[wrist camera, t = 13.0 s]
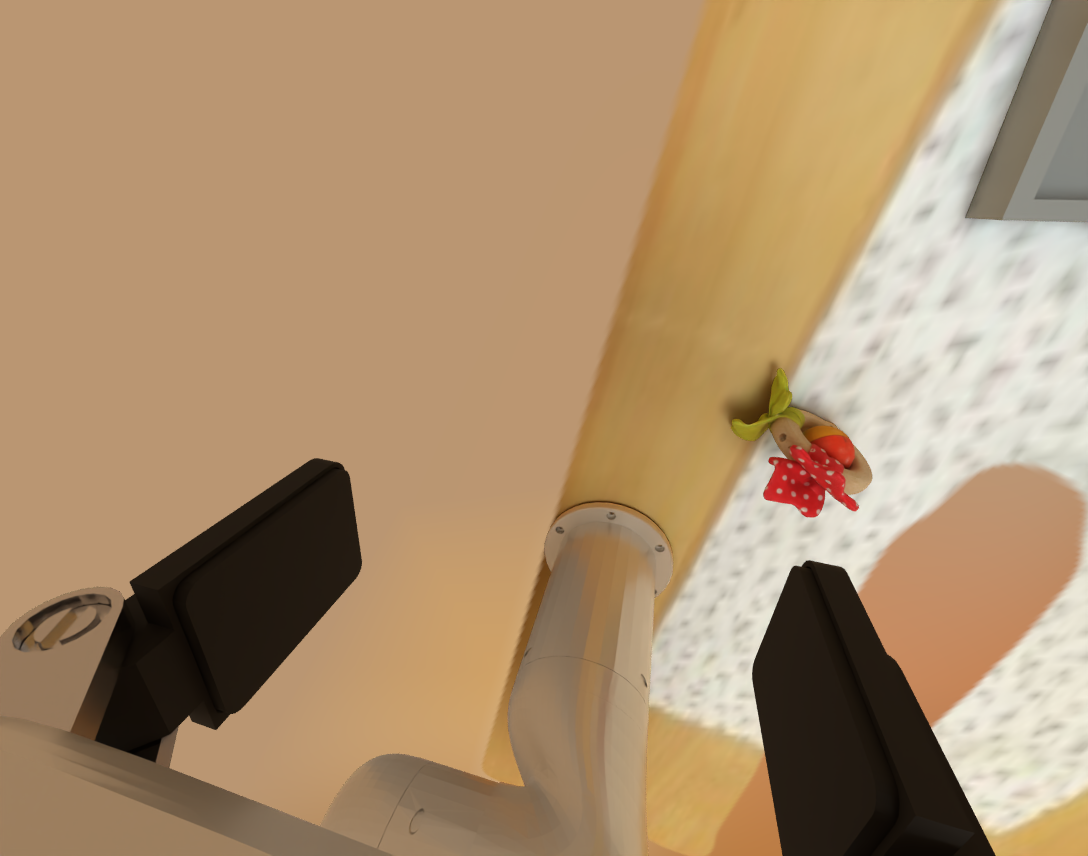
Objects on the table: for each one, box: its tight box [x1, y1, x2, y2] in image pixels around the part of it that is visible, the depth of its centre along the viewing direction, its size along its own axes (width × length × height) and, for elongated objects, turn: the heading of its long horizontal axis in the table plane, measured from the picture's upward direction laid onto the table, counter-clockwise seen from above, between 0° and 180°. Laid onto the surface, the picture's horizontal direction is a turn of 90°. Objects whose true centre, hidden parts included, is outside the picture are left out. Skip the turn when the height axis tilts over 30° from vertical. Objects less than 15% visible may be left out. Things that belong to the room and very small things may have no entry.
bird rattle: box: [731, 368, 872, 517], centre depth 31 cm, size 6×11×9 cm
